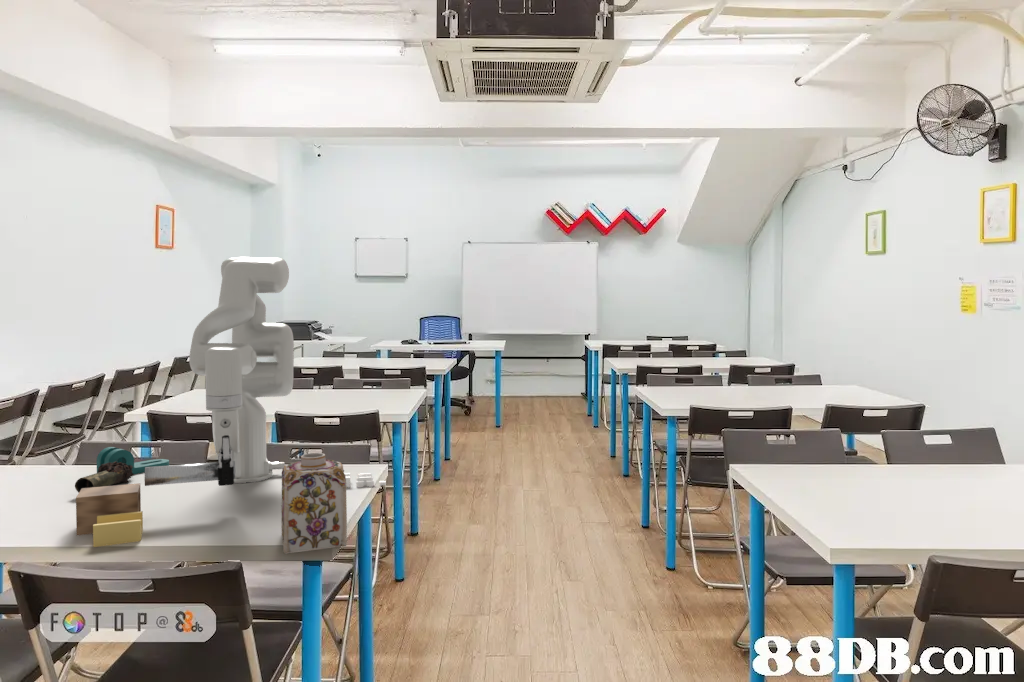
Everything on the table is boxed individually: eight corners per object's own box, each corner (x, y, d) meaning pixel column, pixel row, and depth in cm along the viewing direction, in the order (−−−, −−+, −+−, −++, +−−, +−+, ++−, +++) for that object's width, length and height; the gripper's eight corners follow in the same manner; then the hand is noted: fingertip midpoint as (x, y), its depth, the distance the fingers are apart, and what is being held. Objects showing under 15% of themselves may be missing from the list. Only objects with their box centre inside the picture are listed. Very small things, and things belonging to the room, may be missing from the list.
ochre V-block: (142, 532, 142) (142, 511, 142) (140, 543, 136) (140, 520, 135) (98, 537, 139) (97, 515, 138) (93, 548, 132) (93, 525, 132)
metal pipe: (93, 496, 167) (94, 473, 167) (67, 495, 167) (67, 472, 167) (137, 480, 185) (137, 459, 185) (113, 479, 185) (113, 458, 185)
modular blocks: (328, 495, 174) (328, 479, 174) (328, 488, 180) (328, 473, 180) (406, 490, 179) (407, 475, 179) (404, 484, 185) (404, 469, 185)
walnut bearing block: (140, 519, 151) (140, 483, 151) (138, 529, 144) (137, 492, 143) (82, 525, 146) (81, 488, 146) (76, 536, 139) (75, 497, 139)
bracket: (108, 480, 185) (108, 452, 185) (96, 477, 189) (96, 448, 189) (173, 468, 200) (173, 441, 200) (161, 465, 204) (161, 439, 203)
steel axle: (234, 476, 158) (234, 459, 157) (235, 480, 154) (235, 463, 154) (145, 483, 150) (145, 465, 150) (144, 487, 146) (144, 469, 146)
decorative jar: (347, 551, 132) (347, 458, 131) (283, 558, 128) (282, 463, 127) (340, 532, 143) (339, 446, 142) (281, 538, 139) (280, 450, 138)
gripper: (244, 407, 148) (246, 490, 149) (239, 395, 163) (241, 471, 164) (206, 409, 145) (208, 494, 146) (205, 397, 160) (206, 474, 161)
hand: (225, 481), depth 155 cm, fingers closed on steel axle, 4 cm apart
